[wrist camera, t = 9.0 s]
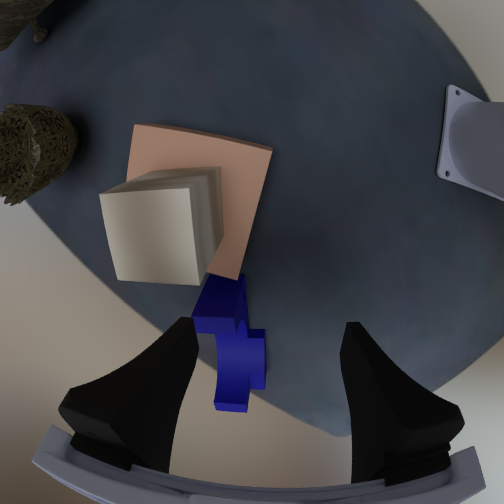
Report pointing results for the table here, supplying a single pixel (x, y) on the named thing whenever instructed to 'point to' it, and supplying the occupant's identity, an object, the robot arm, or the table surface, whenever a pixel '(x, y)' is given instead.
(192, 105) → the table surface
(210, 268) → the terracotta block
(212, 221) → the ivory block
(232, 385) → the blue stepped block
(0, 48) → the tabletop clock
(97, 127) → the table surface
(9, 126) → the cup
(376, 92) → the table surface
